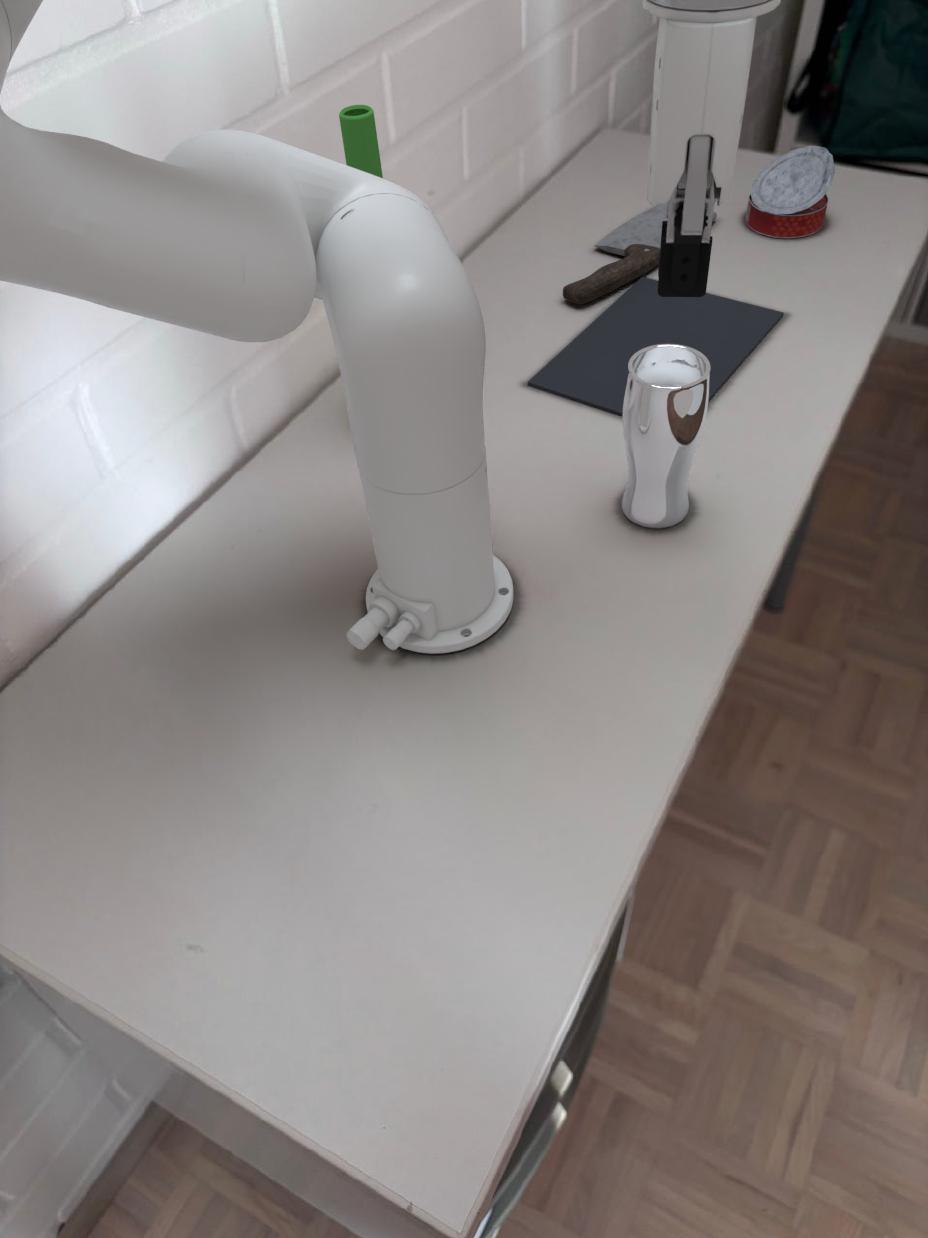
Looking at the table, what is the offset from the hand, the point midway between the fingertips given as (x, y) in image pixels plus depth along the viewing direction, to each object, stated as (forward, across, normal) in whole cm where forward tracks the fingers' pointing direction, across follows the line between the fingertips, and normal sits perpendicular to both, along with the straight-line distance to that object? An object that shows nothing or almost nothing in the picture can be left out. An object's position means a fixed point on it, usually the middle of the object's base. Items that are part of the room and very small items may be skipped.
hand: (681, 285), depth 65 cm
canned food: (+25, -64, +16) cm, 71 cm away
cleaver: (+25, -55, -4) cm, 60 cm away
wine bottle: (+25, -20, -27) cm, 42 cm away
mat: (+25, -33, 0) cm, 41 cm away
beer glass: (+25, -6, 0) cm, 26 cm away
